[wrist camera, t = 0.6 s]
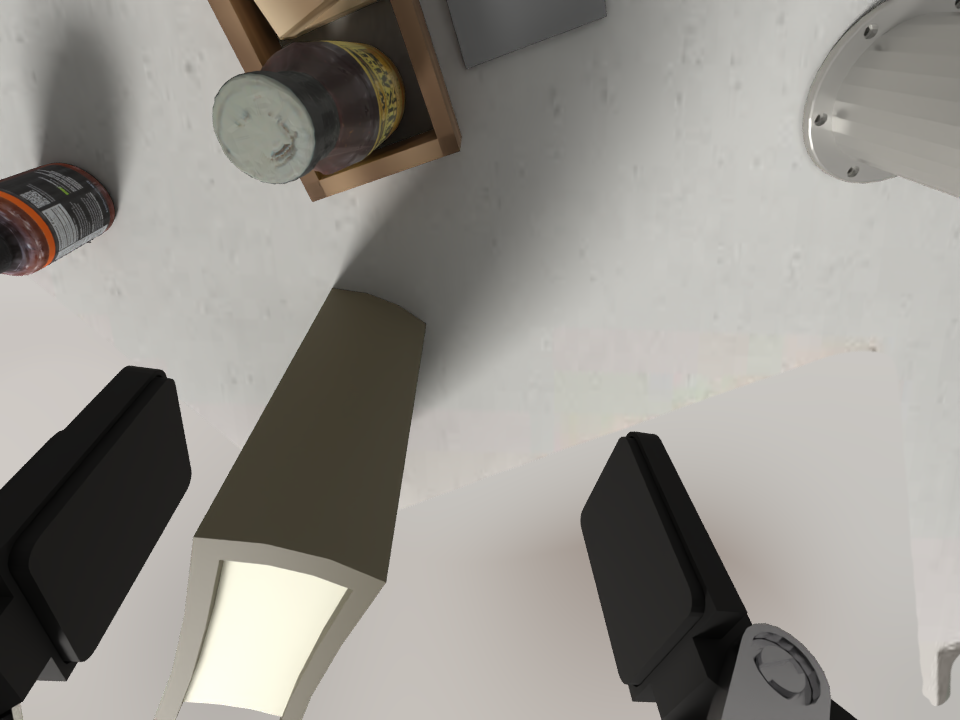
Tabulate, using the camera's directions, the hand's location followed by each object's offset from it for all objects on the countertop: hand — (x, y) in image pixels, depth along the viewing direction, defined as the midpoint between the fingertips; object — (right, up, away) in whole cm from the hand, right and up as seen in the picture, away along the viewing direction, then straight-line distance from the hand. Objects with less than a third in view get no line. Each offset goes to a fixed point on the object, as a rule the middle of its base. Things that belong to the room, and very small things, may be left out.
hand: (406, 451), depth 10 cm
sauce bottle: (-7, +22, +25) cm, 34 cm away
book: (-12, 0, +40) cm, 42 cm away
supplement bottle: (-32, +16, +29) cm, 46 cm away
